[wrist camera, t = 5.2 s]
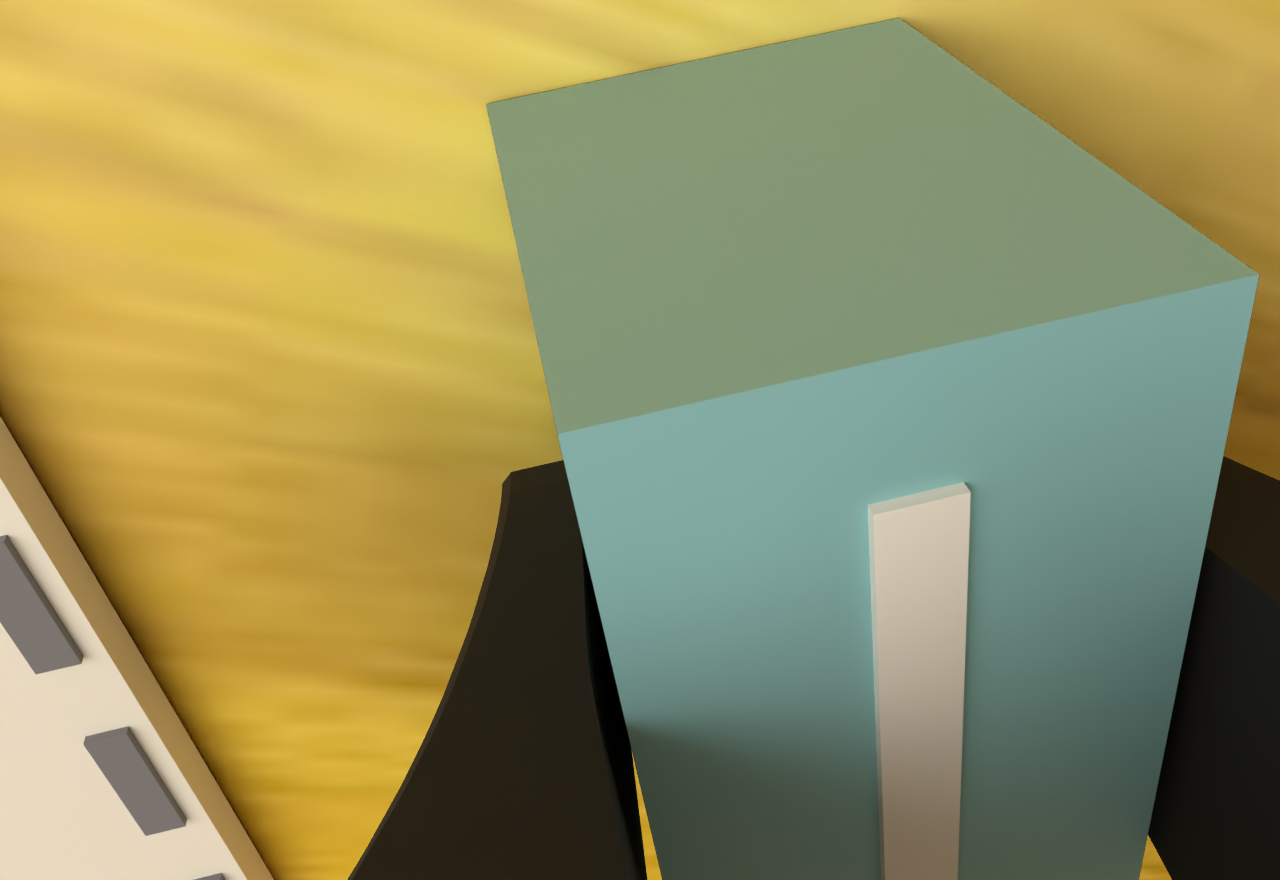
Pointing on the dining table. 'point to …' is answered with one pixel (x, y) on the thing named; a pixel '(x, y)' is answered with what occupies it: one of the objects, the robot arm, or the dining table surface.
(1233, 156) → the dining table surface
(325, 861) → the dining table surface
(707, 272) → the teal rectangular block
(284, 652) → the dining table surface
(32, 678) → the white card
